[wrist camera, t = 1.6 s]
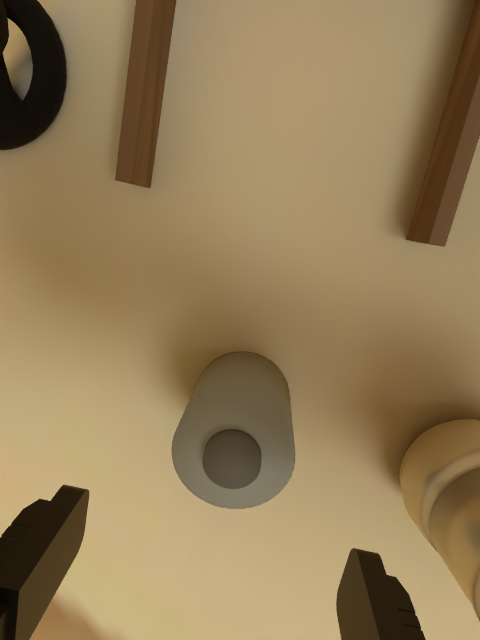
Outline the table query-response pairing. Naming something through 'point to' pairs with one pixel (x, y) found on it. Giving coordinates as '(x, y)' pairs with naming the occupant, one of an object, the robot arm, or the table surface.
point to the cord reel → (236, 433)
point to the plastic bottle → (448, 497)
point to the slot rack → (446, 159)
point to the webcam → (47, 81)
